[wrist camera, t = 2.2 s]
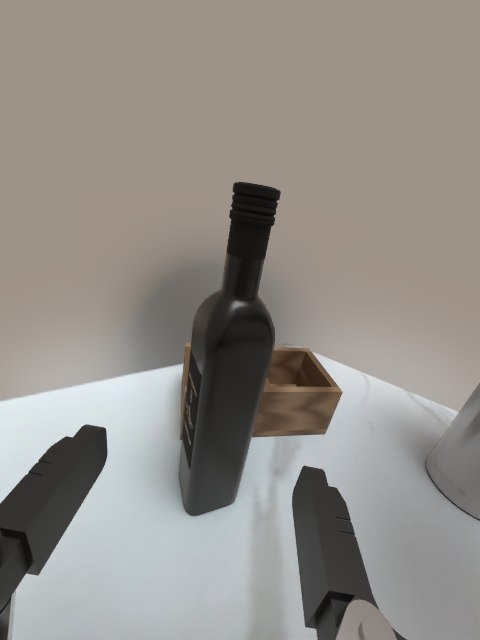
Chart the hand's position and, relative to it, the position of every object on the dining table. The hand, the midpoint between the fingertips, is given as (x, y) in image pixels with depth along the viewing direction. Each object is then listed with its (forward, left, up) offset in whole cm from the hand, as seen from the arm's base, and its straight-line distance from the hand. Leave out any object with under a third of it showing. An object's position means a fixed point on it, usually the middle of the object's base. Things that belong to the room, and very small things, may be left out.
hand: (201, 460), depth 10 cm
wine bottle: (-3, -11, -20) cm, 23 cm away
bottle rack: (-11, -22, -19) cm, 31 cm away
